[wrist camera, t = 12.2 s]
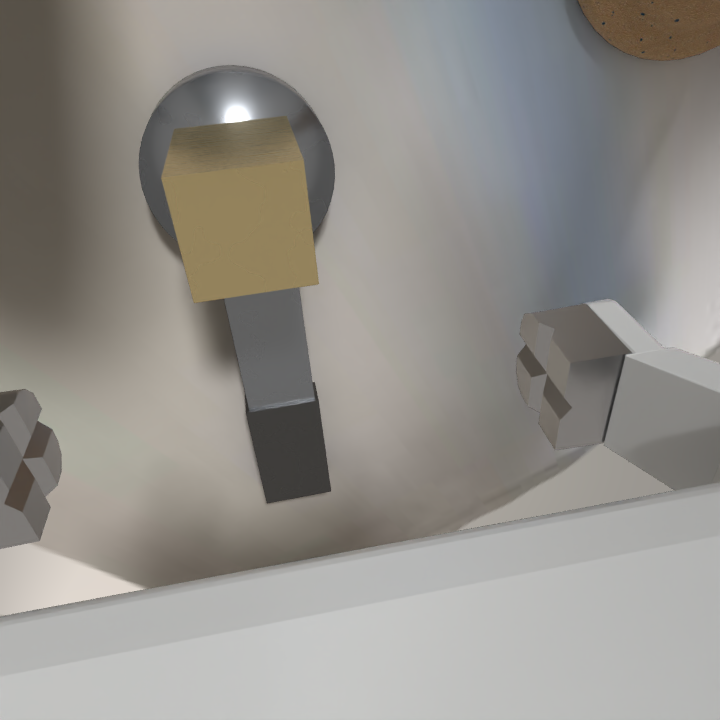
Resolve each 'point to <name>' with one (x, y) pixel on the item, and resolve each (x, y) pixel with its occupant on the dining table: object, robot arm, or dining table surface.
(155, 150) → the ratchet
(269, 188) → the tan rectangular block
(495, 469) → the dining table surface
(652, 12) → the candle holder
